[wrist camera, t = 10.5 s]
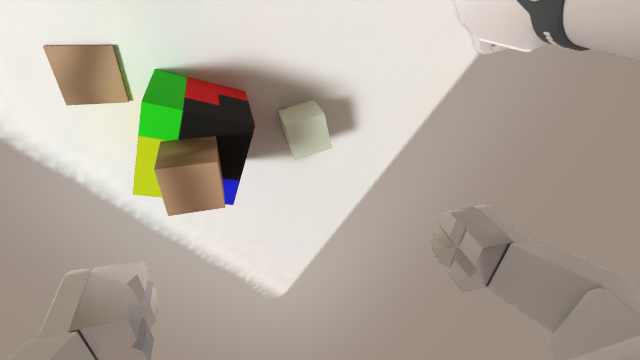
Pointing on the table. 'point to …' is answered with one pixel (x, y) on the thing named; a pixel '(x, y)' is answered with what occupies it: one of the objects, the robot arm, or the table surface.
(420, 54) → the table surface
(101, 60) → the swatch tile
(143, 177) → the puzzle toy
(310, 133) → the sage block
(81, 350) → the robot arm
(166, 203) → the walnut block
